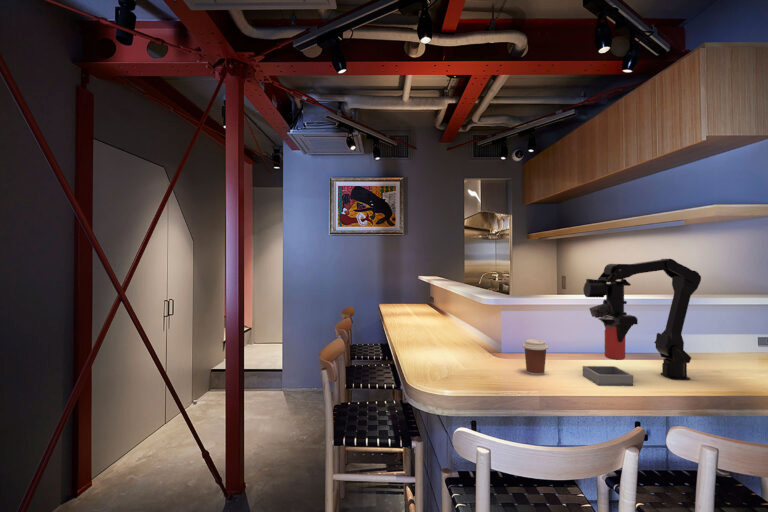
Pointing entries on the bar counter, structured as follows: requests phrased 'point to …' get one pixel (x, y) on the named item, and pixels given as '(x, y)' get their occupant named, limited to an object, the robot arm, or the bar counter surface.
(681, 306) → the robot arm
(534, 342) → the coffee cup
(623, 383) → the tray
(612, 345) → the beer can
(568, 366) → the bar counter surface
